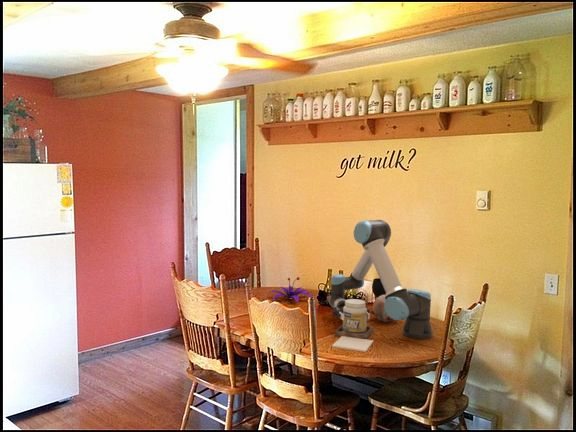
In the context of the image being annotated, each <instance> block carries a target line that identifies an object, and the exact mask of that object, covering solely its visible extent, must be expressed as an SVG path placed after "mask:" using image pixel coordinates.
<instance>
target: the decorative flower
mask: <svg viewBox="0 0 576 432" xmlns="http://www.w3.org/2000/svg"><path fill="white" fill-rule="evenodd" d="M287 281H289V283H288V287H283V286H279V288H280V290H270V292H268V294H270V293H277V294H274V296H273V297H272V301H273V300H276V299H277V298H279V297H283V296H284V297H285V298H287V299H289V298H293V300H295V302H297V303H298V302H299V299H300V297H299V295H307V296H308V297H310V298H311V297H313V296H312V295H311V294H310V292H309V291H308V290H307V289H302V288H303V287H302V286H300V287H297V288H296V289H294V286H293V285H294V283H295V282H296V281H300V277H299V276H297V277H296V279H295V280H294V281H293V282H292V285H291V278H290V277H288V278H287ZM268 294H267V295H268Z"/></svg>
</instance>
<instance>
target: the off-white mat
mask: <svg viewBox="0 0 576 432" xmlns="http://www.w3.org/2000/svg"><path fill="white" fill-rule="evenodd" d="M373 343H374V340H373V339H368V338H367V339H359V338H352V337H345V336H341V337H338V338H337V340H336V341H335V342H334V343H333V344H332V345H331V347H332V348H337V349H342V350H351V351H357V352H364V353H367V351H368V350H369V348H370V347H371V346H372V344H373Z"/></svg>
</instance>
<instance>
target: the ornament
mask: <svg viewBox="0 0 576 432" xmlns="http://www.w3.org/2000/svg"><path fill="white" fill-rule="evenodd" d="M385 301H386V299H385V295H381V296H379V297H378V298H377V297H376V298H375V300H374V301H373V305H372V311H373V312H374V316H375V318H377V319H378V320H379V321H381V322H385V323H387V322H392V321H395V320H394V319H392V318H390V317H389V316H388V315H387V313H386V311H385V308H384V305H385Z"/></svg>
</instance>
